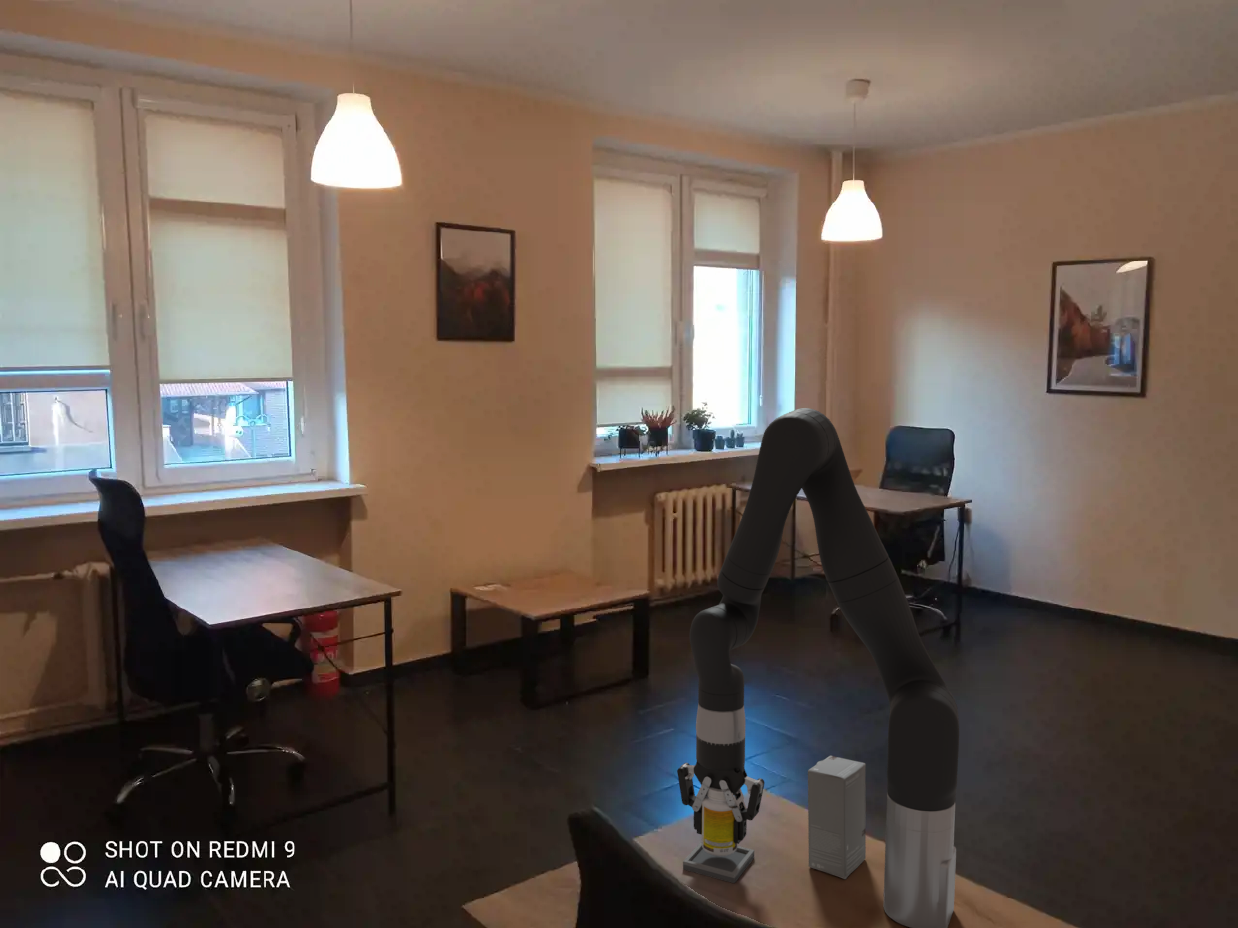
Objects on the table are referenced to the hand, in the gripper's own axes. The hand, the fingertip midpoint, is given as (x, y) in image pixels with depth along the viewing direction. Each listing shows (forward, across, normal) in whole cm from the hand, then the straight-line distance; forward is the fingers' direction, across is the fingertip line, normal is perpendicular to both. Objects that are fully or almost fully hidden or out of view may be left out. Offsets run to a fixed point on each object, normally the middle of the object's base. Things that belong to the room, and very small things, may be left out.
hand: (719, 836), depth 151 cm
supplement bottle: (+2, 0, 0) cm, 2 cm away
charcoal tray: (+4, 0, 0) cm, 4 cm away
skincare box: (+5, -16, -9) cm, 19 cm away
